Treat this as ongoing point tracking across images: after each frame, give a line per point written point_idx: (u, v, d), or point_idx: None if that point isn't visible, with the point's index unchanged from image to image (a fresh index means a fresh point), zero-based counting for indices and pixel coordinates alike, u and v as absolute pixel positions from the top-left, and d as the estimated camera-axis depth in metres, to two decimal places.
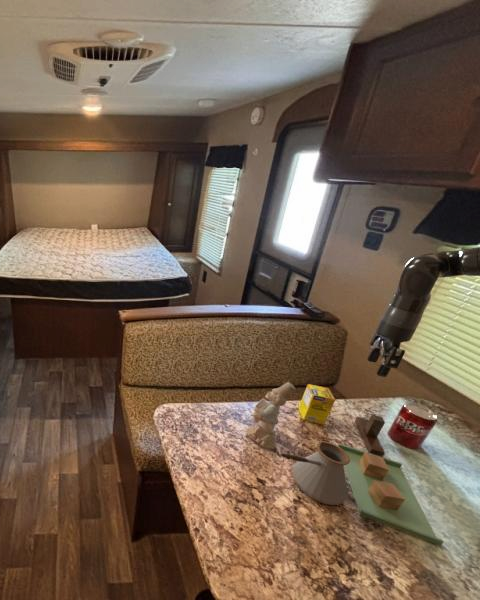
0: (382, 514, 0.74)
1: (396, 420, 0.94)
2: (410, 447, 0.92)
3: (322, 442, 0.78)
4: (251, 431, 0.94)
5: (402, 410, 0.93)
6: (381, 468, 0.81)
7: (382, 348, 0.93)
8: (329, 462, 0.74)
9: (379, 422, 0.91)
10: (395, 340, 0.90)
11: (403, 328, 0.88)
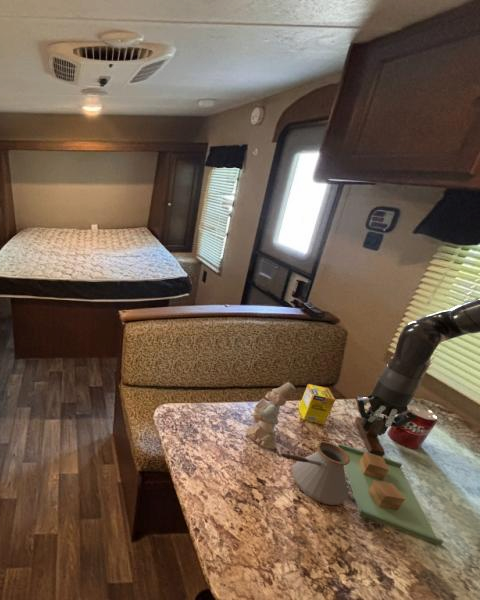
0: (382, 514, 0.74)
1: None
2: (410, 447, 0.92)
3: (322, 442, 0.78)
4: (251, 431, 0.94)
5: None
6: (381, 468, 0.81)
7: None
8: (329, 462, 0.74)
9: (379, 422, 0.91)
10: (373, 391, 0.90)
11: (379, 381, 0.88)
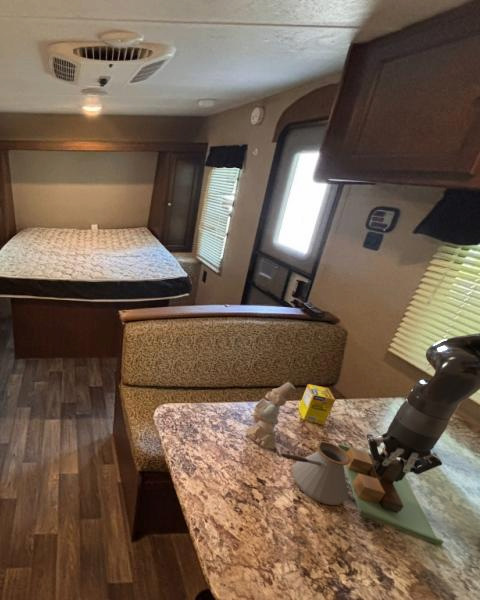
0: (382, 514, 0.74)
1: None
2: None
3: (322, 442, 0.78)
4: (251, 431, 0.94)
5: None
6: (365, 462, 0.82)
7: None
8: (329, 462, 0.74)
9: (396, 467, 0.75)
10: (388, 430, 0.75)
11: (396, 418, 0.73)
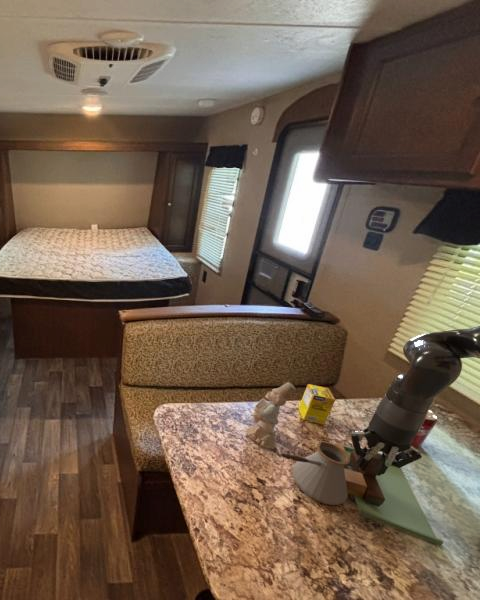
0: (382, 514, 0.74)
1: None
2: None
3: (322, 442, 0.78)
4: (251, 431, 0.94)
5: None
6: None
7: None
8: (329, 462, 0.74)
9: (378, 461, 0.77)
10: (369, 425, 0.76)
11: (376, 413, 0.74)
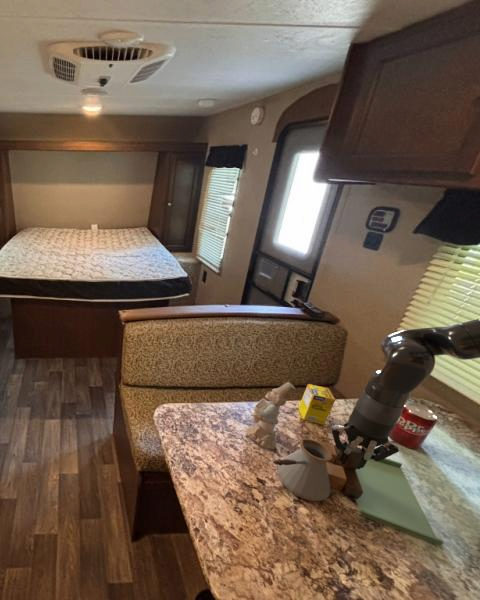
0: (382, 514, 0.74)
1: None
2: (410, 447, 0.92)
3: (304, 439, 0.78)
4: (251, 431, 0.94)
5: None
6: None
7: None
8: (314, 460, 0.74)
9: (357, 454, 0.78)
10: (349, 419, 0.78)
11: (355, 408, 0.76)
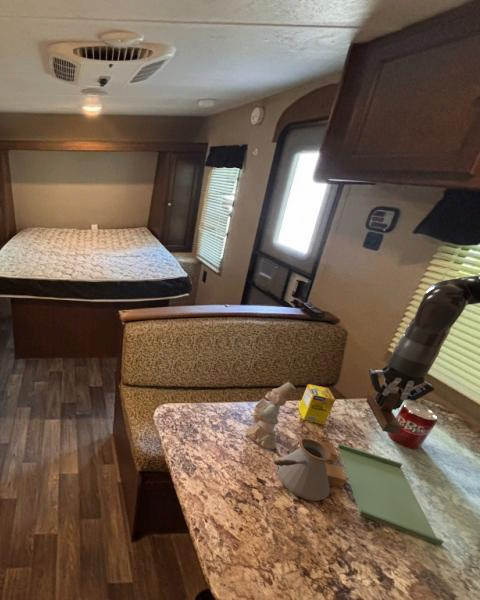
0: (382, 514, 0.74)
1: None
2: (410, 447, 0.92)
3: (303, 439, 0.78)
4: (251, 431, 0.94)
5: (402, 410, 0.93)
6: None
7: None
8: (314, 460, 0.74)
9: (394, 395, 0.87)
10: None
11: (394, 352, 0.84)
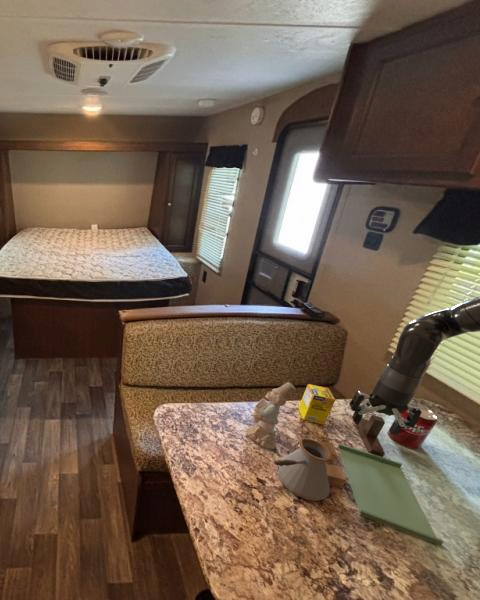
0: (382, 514, 0.74)
1: None
2: (410, 447, 0.92)
3: (303, 439, 0.78)
4: (251, 431, 0.94)
5: None
6: None
7: None
8: (314, 460, 0.74)
9: (379, 422, 0.91)
10: (373, 391, 0.90)
11: (379, 380, 0.88)
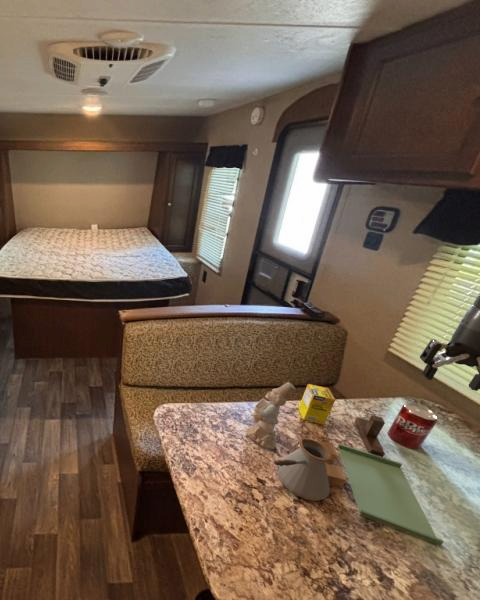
0: (382, 514, 0.74)
1: (396, 420, 0.94)
2: (410, 447, 0.92)
3: (303, 439, 0.78)
4: (251, 431, 0.94)
5: (402, 410, 0.93)
6: None
7: None
8: (314, 460, 0.74)
9: (379, 422, 0.91)
10: (452, 338, 0.77)
11: (461, 324, 0.75)
